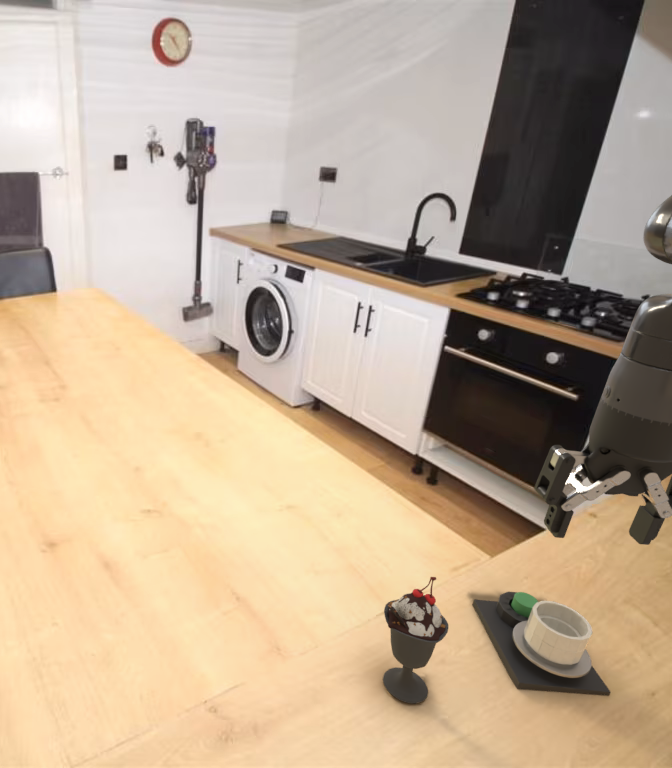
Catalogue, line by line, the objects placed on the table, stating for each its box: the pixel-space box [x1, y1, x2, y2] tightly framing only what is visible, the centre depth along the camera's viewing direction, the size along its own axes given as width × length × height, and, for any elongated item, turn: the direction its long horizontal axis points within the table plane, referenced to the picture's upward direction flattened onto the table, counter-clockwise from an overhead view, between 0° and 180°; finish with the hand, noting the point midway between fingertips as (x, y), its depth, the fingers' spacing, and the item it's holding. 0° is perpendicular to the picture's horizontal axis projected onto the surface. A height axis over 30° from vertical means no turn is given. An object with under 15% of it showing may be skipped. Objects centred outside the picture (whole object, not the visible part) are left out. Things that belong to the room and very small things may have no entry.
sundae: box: [382, 576, 449, 704], centre depth 62 cm, size 7×7×15 cm
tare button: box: [511, 591, 539, 618], centre depth 72 cm, size 3×3×2 cm
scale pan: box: [512, 621, 593, 678], centre depth 66 cm, size 8×8×1 cm
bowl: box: [524, 600, 594, 665], centre depth 65 cm, size 6×6×4 cm
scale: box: [472, 591, 611, 697], centre depth 69 cm, size 10×13×3 cm
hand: (596, 536), depth 59 cm, fingers open, 8 cm apart
